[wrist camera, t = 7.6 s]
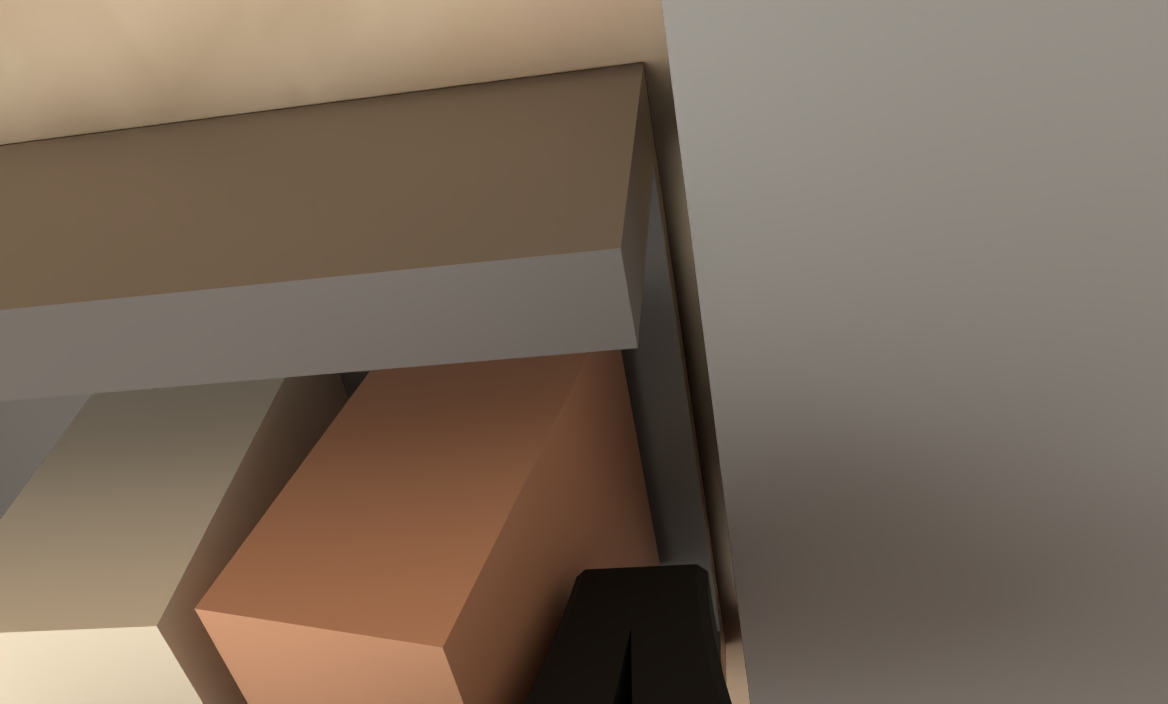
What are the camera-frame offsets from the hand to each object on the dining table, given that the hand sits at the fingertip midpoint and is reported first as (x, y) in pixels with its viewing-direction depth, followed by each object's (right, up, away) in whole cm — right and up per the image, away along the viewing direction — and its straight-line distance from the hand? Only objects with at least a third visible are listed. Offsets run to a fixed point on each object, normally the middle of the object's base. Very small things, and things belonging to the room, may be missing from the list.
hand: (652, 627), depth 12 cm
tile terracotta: (-1, 0, 0) cm, 1 cm away
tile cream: (-4, 0, +1) cm, 4 cm away
